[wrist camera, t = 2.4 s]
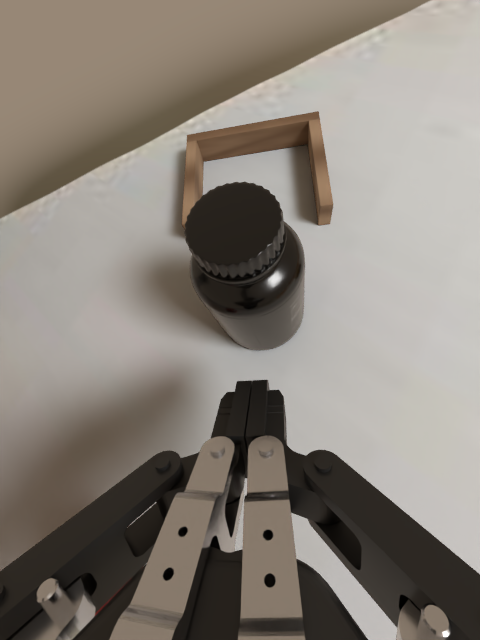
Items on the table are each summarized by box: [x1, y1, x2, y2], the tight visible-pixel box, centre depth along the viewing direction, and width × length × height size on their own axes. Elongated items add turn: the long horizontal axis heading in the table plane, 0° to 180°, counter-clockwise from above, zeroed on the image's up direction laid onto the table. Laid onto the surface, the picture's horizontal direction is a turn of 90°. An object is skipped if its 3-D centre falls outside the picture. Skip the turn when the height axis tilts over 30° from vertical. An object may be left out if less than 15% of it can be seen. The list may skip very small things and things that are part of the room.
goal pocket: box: [182, 111, 333, 229], centre depth 29 cm, size 11×13×2 cm
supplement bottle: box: [184, 182, 305, 350], centre depth 19 cm, size 7×7×12 cm
